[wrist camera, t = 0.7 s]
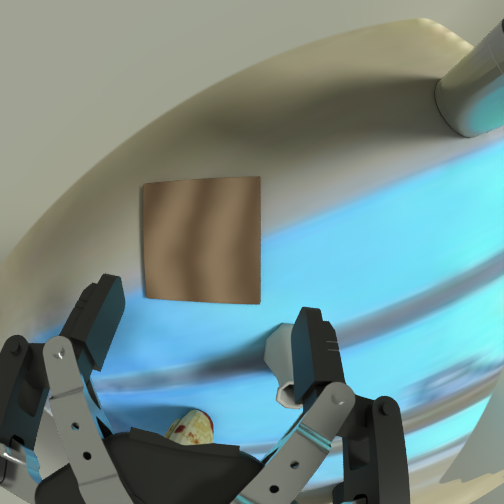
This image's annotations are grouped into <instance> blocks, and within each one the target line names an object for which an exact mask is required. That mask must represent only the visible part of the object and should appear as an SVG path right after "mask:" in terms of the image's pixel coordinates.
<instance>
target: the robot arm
mask: <svg viewBox="0 0 504 504" xmlns="http://www.w3.org/2000/svg"><path fill="white" fill-rule="evenodd" d="M435 99H436V103H437V106H438V108H439V110H440V113H441V114H442V116H443V117H444V119H445V120H446V122H447V123H448V124H449V125H450V126H451V127H452V128H453V129H454V130H455V131H456V132H458V133H459V134H461V135H463V136H465V137H470V138H471V137H476V136H479V135H481V134H483V133H487V132H490V131H492V130H494V129H496V128H499V127H501V126H503V125H504V19H503V20H502V21H501V22H500V23H499V24H498V25H497V26H496V27H495V28H494V29H493V30H492V31H491V32H490V33H489V34H488V35H487V36H486V37H485V38H484V39H483V40H482V41H481V42H480V43H479V44H478V45H477V46H475V47H474V48H473V49H472V50H471V51H470V52H469V53H468V54H467V55H466V56H465V57H464V58H463V59H462V60H461V61H460V62H459V63H458V64H457V65H456V66H455V67H454V68H453V69H451V70H450V71H449V72H448V73H447V74H446V75H445V76H444V77H443V78H442V79H441V80H440V81H439V82H438V84H437V85H436V88H435ZM124 309H125V297H124V292H123V287H122V281H121V278H120V277H119V276H115V275H110V274H103V275H102V276H101V278H100V280H99V282H98V283H97V284H96V283H92V284H90V285H89V286H88V287H87V288H86V289H84V291H83V292H82V294H81V296H80V298H79V301H77V303H76V305H75V308H73V310H72V312H71V314H70V316H69V317H68V319H67V321H66V323H65V325H64V327H63V329H62V331H61V333H60V334H59V336H55V337H52V338H51V339H49V340H48V341H47V342H46V343H43V344H41V343H28V342H27V340H26V339H25V338H24V337H23V336H21V335H14V336H11V337H10V338H8V339H7V341H6V342H5V344H4V346H3V348H2V350H1V352H0V486H1V487H3V488H5V489H7V490H8V491H10V492H11V493H13V494H14V495H16V496H18V497H20V498H21V499H23V500H25V501H27V502H28V503H30V504H298V503H297V502H296V501H295V500H294V499H295V497H296V496H297V495H298V494H299V492H300V491H301V490H302V489H303V487H304V486H305V485H306V484H307V482H308V481H309V480H310V478H311V477H312V476H313V474H314V473H315V472H316V470H317V469H318V468H319V466H320V465H321V463H322V462H323V460H324V459H325V458H326V456H327V455H328V453H329V451H330V449H331V442H332V440H333V439H334V437H335V436H340V437H342V442H343V469H344V502H343V503H341V504H410V489H409V475H408V465H407V455H406V447H405V439H404V432H403V426H402V420H401V414H400V408H399V406H398V404H397V402H396V401H395V400H394V399H393V398H391V397H388V396H381V397H379V398H377V399H376V400H371V399H368V398H364V397H361V396H358V395H356V394H354V392H353V390H352V389H351V388H350V387H349V386H348V385H346V382H345V379H344V373H343V368H342V362H341V357H340V352H339V347H338V343H337V337H336V332H335V330H334V328H333V327H332V325H331V324H330V322H329V321H323V319H322V314H321V310H320V309H319V308H310V307H302V309H301V311H300V313H299V315H298V317H297V319H296V321H295V324H294V326H293V328H292V332H291V351H292V365H293V380H294V396H295V404H303V412H302V413H301V414H300V416H299V417H298V418H297V419H296V421H295V422H294V423H293V425H292V426H291V427H290V428H289V429H288V431H287V432H286V433H285V434H284V436H283V437H282V438H281V439H280V440H279V441H278V443H277V444H276V445H275V446H274V447H273V448H272V449H271V450H270V451H269V452H268V453H267V454H266V455H265V456H264V457H263V459H262V460H261V461H259V460H258V459H256V458H255V457H253V456H252V455H250V454H248V453H245V452H243V451H240V450H239V447H240V446H236V445H225V444H216V443H208V444H197V445H182V444H179V443H177V442H174V441H172V440H170V439H168V438H166V437H163V436H161V435H159V434H157V433H153V432H149V431H145V430H141V429H137V428H133V427H131V430H130V432H120V433H116V434H115V432H114V430H113V428H112V426H111V424H110V422H109V420H108V419H107V417H106V415H105V413H104V411H103V409H102V406H101V404H100V401H99V399H98V396H97V393H96V391H95V388H94V385H93V382H92V379H91V377H90V375H91V373H92V370H97V371H100V372H101V369H102V366H103V363H104V360H105V358H106V355H107V352H108V350H109V347H110V345H111V342H112V339H113V337H114V334H115V332H116V329H117V327H118V325H119V322H120V320H121V317H122V315H123V312H124ZM49 389H51V393H52V398H50V399H49V403H50V407H51V411H52V414H53V418H54V421H55V424H56V427H57V430H58V433H59V436H60V439H61V442H62V445H63V447H64V450H65V452H66V455H67V458H68V460H69V462H70V463H68V464H67V465H65V466H64V467H62V468H61V469H59V470H57V471H56V472H54V473H53V474H51V475H50V476H48V477H47V478H45V479H43V480H42V478H41V477H40V474H39V469H40V465H39V463H38V459H37V456H36V455H35V453H34V452H33V451H34V446H35V441H36V437H37V432H38V428H39V424H40V420H41V417H42V413H43V409H44V406H45V402H46V399H47V396H48V392H49Z"/></svg>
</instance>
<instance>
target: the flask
mask: <svg viewBox="0 0 504 504" xmlns="http://www.w3.org/2000/svg"><path fill="white" fill-rule="evenodd" d="M293 326H294V324H289V323H283V324H281V325H280V326H279V327H278V328H277V329H276V330H275V331H274V332H273V333H272V334H271V335H270V336H269V337H268V338H267V339H266V344H265V351H264V359H263V360H264V361H265V363H266V364H267V365H268V367H269V368H270V369H271V371H272V372H273V374H274V375H275V377H276V378H277V380H278V383H279V387H278V390H277V395H276V401H277V402H278V403H280V404H281V405H282V406H284V407H285V408H291V409H300V408H302V407H303V404H295V396H294V380H293V365H292V351H291V332H292V328H293Z"/></svg>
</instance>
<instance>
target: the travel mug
mask: <svg viewBox="0 0 504 504" xmlns="http://www.w3.org/2000/svg"><path fill="white" fill-rule="evenodd" d="M343 502H344V482H343V483H341V484H339V485H337V486H336V487H335V488H334V490H333V504H341V503H343Z"/></svg>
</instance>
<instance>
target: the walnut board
mask: <svg viewBox="0 0 504 504" xmlns="http://www.w3.org/2000/svg"><path fill="white" fill-rule="evenodd" d="M143 242H144V266H145V283H146V296H147V298H152V299H165V300H178V301H194V302H211V303H232V304H260V302H261V200H260V177H229V178H209V179H193V180H179V181H167V182H156V183H146V184H144V185H143Z"/></svg>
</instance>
